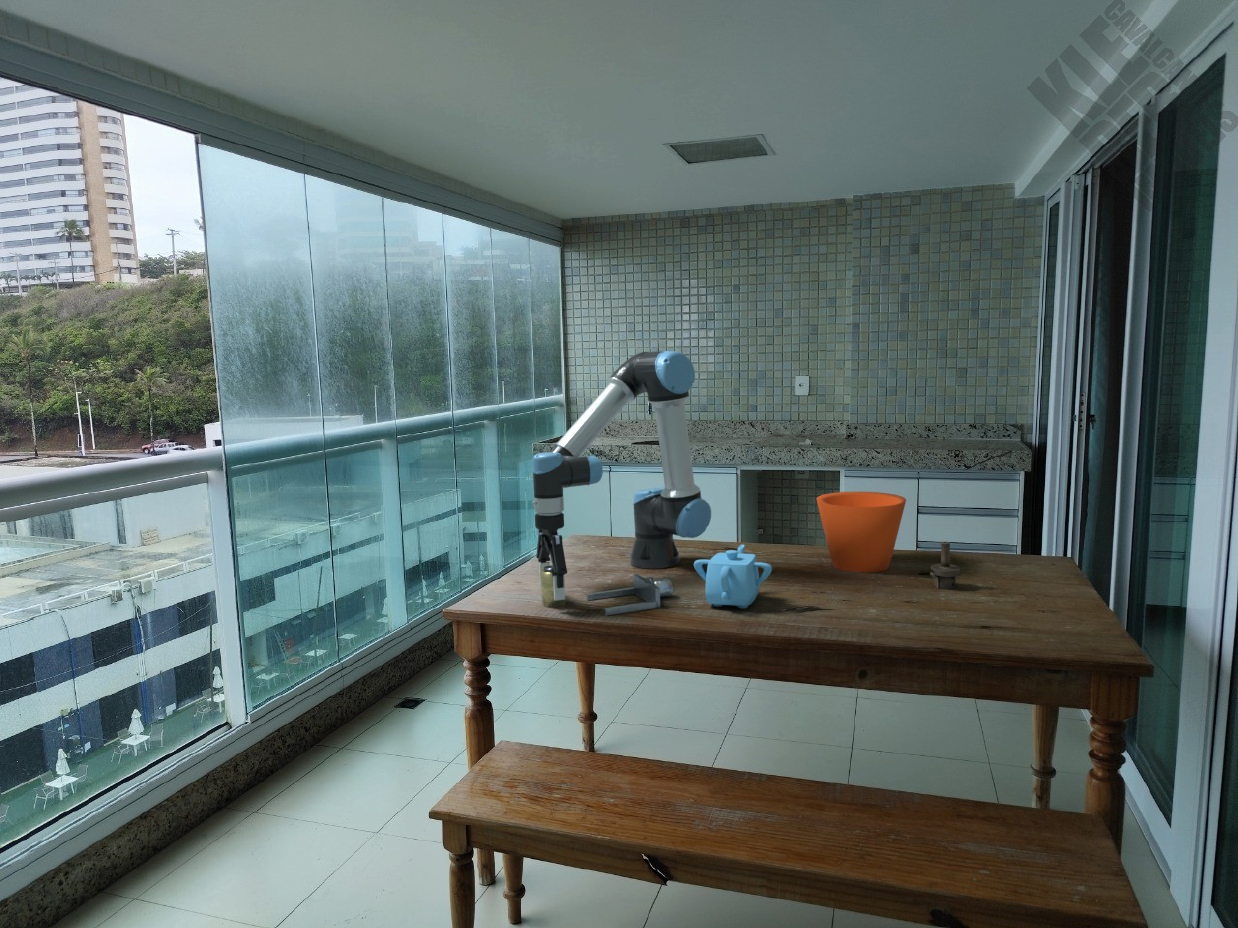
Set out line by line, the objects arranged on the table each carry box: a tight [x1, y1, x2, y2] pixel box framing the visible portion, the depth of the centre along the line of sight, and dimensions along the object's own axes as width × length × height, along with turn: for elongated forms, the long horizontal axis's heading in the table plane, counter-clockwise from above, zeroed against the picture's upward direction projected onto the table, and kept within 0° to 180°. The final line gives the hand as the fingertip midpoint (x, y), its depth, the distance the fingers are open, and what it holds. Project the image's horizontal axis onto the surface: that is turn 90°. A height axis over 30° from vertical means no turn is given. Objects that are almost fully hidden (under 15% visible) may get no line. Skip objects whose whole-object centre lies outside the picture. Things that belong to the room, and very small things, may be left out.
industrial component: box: [930, 541, 961, 590], centre depth 217 cm, size 9×7×12 cm
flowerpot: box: [816, 491, 907, 574], centre depth 241 cm, size 25×25×20 cm
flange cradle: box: [586, 573, 674, 616], centre depth 214 cm, size 21×15×6 cm
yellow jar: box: [540, 564, 566, 608], centre depth 215 cm, size 6×6×10 cm
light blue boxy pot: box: [693, 544, 773, 609], centre depth 211 cm, size 18×16×14 cm
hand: (552, 592), depth 215 cm, fingers open, 13 cm apart
